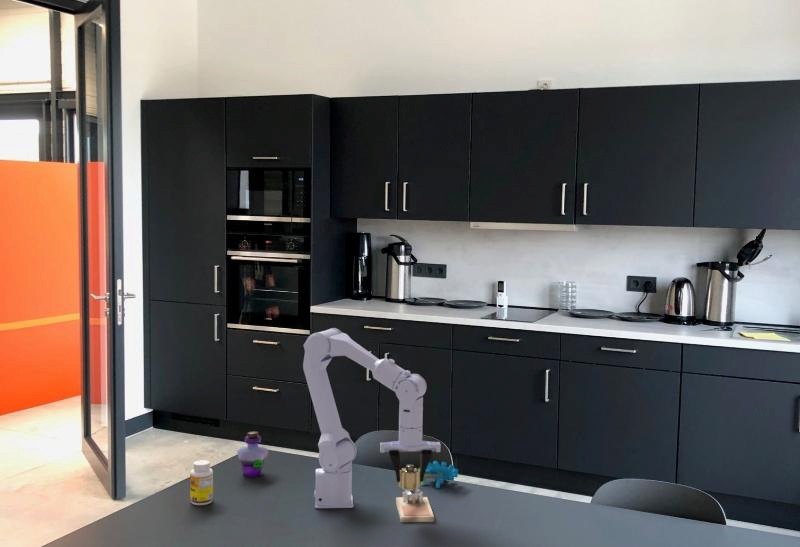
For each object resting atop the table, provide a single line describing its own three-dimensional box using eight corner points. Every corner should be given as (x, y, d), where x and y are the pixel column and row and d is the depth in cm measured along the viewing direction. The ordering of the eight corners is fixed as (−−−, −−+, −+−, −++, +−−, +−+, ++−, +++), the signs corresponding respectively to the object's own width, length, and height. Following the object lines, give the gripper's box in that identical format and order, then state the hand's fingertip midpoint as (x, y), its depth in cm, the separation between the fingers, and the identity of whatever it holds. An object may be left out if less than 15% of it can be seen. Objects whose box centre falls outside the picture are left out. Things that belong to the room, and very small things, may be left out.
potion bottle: (253, 482, 213) (253, 438, 212) (230, 475, 218) (230, 433, 217) (274, 473, 221) (275, 431, 220) (252, 467, 225) (252, 426, 224)
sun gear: (403, 504, 197) (404, 491, 196) (401, 497, 202) (402, 484, 201) (423, 504, 197) (424, 491, 197) (421, 497, 202) (421, 484, 202)
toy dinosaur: (462, 476, 217) (453, 458, 210) (460, 496, 213) (450, 478, 206) (425, 476, 221) (414, 458, 214) (421, 496, 217) (410, 478, 210)
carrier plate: (400, 522, 189) (401, 516, 188) (395, 501, 201) (395, 497, 201) (434, 521, 189) (434, 516, 189) (426, 501, 202) (426, 496, 202)
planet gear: (399, 490, 189) (400, 469, 188) (398, 483, 194) (398, 462, 193) (420, 490, 189) (421, 469, 189) (418, 483, 194) (419, 462, 194)
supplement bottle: (188, 499, 200) (188, 460, 199) (210, 496, 202) (211, 457, 201) (191, 507, 195) (191, 467, 194) (214, 504, 197) (214, 464, 196)
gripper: (381, 430, 186) (380, 486, 187) (442, 430, 187) (441, 485, 188) (379, 422, 193) (379, 476, 194) (438, 421, 194) (437, 475, 195)
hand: (409, 480), depth 192 cm, fingers closed on planet gear, 5 cm apart
